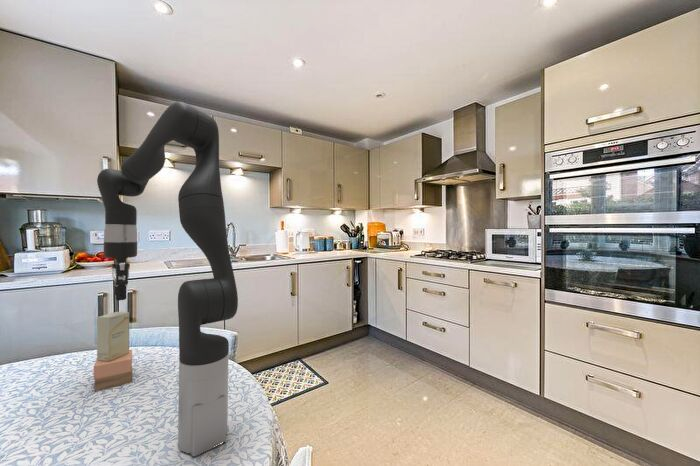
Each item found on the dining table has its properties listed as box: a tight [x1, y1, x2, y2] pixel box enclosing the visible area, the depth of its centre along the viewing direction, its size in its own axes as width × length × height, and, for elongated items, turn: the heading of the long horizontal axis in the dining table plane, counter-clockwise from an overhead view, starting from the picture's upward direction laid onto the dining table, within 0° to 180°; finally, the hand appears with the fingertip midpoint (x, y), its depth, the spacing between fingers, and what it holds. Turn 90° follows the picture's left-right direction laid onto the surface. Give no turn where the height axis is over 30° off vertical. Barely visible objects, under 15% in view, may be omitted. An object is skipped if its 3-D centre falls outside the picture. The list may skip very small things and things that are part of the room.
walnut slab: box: [94, 368, 134, 393], centre depth 82 cm, size 8×8×4 cm
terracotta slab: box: [93, 349, 133, 380], centre depth 82 cm, size 8×8×4 cm
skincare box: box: [96, 311, 130, 361], centre depth 82 cm, size 6×4×12 cm
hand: (120, 297), depth 82 cm, fingers open, 8 cm apart
